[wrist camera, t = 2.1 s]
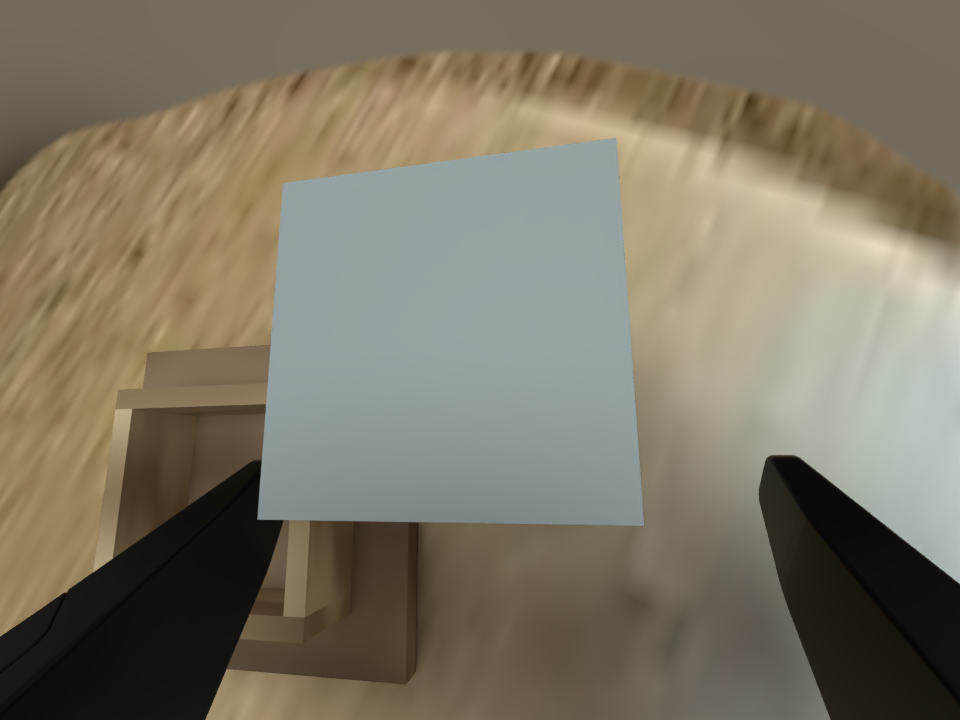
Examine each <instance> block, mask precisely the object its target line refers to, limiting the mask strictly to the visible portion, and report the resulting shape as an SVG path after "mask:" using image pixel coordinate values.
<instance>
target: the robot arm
mask: <svg viewBox="0 0 960 720" xmlns="http://www.w3.org/2000/svg"><path fill="white" fill-rule="evenodd" d="M261 466H262V459H256V460H253V461H251V462H250V463H248V464H247V465H245V466H244V467H243V468H241V469H240V470H238V471H237V472H235V473H234V474H233V475H231V476H230V477H228V478H227V479H225V480H224V481H223V482H221V483H220V484H218V485H217V486H215V487H214V488H213V489H211V490H210V491H208V492H207V493H205V494H204V495H203V496H201V497H200V498H198V499H197V500H196V501H194V502H193V503H191V504H190V505H188V506H187V507H186V508H184V509H183V510H181V511H180V512H178V513H177V514H176V515H174V516H173V517H171V518H170V519H168V520H167V521H166V522H164V523H163V524H161V525H160V526H158V527H157V528H156V529H154V530H153V531H151V532H150V533H148V534H147V535H146V536H144V537H143V538H141V539H140V540H139V541H137V542H136V543H134V544H133V545H131V546H130V547H129V548H127V549H126V550H124V551H123V552H121V553H120V554H119V555H117V556H116V557H114V558H113V559H111V560H110V561H109V562H107V563H106V564H104V565H103V566H101V567H100V568H99V569H97V570H96V571H94V572H93V573H91V574H90V575H89V576H87V577H86V578H84V579H83V580H82V581H80V582H79V583H77V584H76V585H74V586H73V587H72V588H70V589H69V590H68V592H67V593H63V594H61V595H60V596H59V597H57V598H56V599H54V600H53V601H52V602H50V603H49V604H47V605H46V606H44V607H43V608H42V609H40V610H39V611H37V612H36V613H34V614H33V615H31V616H30V617H28V618H27V619H26V620H24V621H23V622H21V623H20V624H18V625H17V626H15V627H14V628H12V629H11V630H9V631H8V632H7V633H5V634H4V635H2V636H0V720H205V719H206V717H207V714H208V712H209V710H210V707H211V705H212V703H213V700H214V698H215V695H216V693H217V691H218V688H219V686H220V684H221V681H222V679H223V676H224V674H225V672H226V669H227V667H228V665H229V662H230V660H231V657H232V655H233V653H234V650H235V648H236V646H237V643H238V641H239V638H240V636H241V634H242V631H243V629H244V627H245V624H246V622H247V619H248V617H249V615H250V612H251V610H252V608H253V605H254V603H255V600H256V598H257V596H258V593H259V591H260V589H261V586H262V584H263V581H264V579H265V576H266V574H267V571H268V569H269V566H270V563H271V560H272V557H273V554H274V550H275V547H276V544H277V541H278V538H279V534H280V531H281V528H282V525H283V522H284V520H257V518H258V505H259V492H260V479H261ZM759 501H760V506H761V510H762V514H763V518H764V522H765V526H766V529H767V533H768V537H769V541H770V545H771V549H772V553H773V557H774V561H775V565H776V569H777V573H778V577H779V581H780V584H781V588H782V591H783V594H784V597H785V600H786V603H787V606H788V609H789V611H790V614H791V617H792V619H793V622H794V625H795V627H796V630H797V632H798V635H799V638H800V640H801V643H802V646H803V648H804V651H805V653H806V656H807V659H808V661H809V664H810V667H811V669H812V672H813V674H814V677H815V680H816V682H817V685H818V688H819V690H820V693H821V696H822V698H823V701H824V703H825V706H826V709H827V711H828V714H829V717H830V719H831V720H960V584H959V583H958V582H957V581H955V580H954V579H953V578H952V577H950V576H949V575H948V574H946V573H945V572H944V571H943V570H941V569H940V568H939V567H938V566H936V565H935V564H934V563H932V562H931V561H930V560H929V559H927V558H926V557H925V556H924V555H922V554H921V553H920V552H919V551H917V550H916V549H915V548H913V547H912V546H911V545H910V544H908V543H907V542H906V541H905V540H903V539H902V538H901V537H900V536H898V535H897V534H896V533H894V532H893V531H892V530H891V529H889V528H888V527H887V526H886V525H884V524H883V523H882V522H881V521H879V520H878V519H877V518H875V517H874V516H873V515H872V514H870V513H869V512H868V511H867V510H865V509H864V508H863V507H861V506H860V505H859V504H858V503H856V502H855V501H854V500H853V499H851V498H850V497H849V496H848V495H846V494H845V493H844V492H842V491H841V490H840V489H839V488H837V487H836V486H835V485H834V484H832V483H831V482H830V481H829V480H827V479H826V478H825V477H823V476H822V475H821V474H820V473H818V472H817V471H816V470H815V469H813V468H812V467H811V466H810V465H808V464H807V463H806V462H804V461H803V460H802V459H801V458H799V457H797V456H794V455H771V456H769V457H767V459H766V461H765V465H764V469H763V474H762V478H761V482H760V487H759Z"/></svg>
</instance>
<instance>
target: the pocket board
mask: <svg viewBox="0 0 960 720" xmlns="http://www.w3.org/2000/svg"><path fill="white" fill-rule="evenodd" d="M270 348H271V345H262V346H247V347H231V348H215V349H199V350H183V351H168V352H152V353H148V354H147V362H146V370H145V377H144V385H143V389H124V390H118V395H117V403H116V410H115V417H114V425H113V432H112V439H111V446H110V454H109V461H108V468H107V476H106V483H105V490H104V497H103V505H102V512H101V519H100V527H99V534H98V541H97V548H96V556H95V563H94V570H93V572H94V571H96V570H97V569H99V568H100V567H101V566H103V565H104V564H106V563H107V562H109V561H110V560H111V559H113V558H114V557H116V556H117V555H119V554H120V553H121V552H123V551H124V550H126V549H127V548H129V547H130V546H131V545H133V544H134V543H136V542H137V541H139V540H140V539H141V538H143V537H144V536H146V535H147V534H148V533H150V532H151V531H153V530H154V529H156V528H157V527H158V526H160V525H161V524H163V523H164V522H166V521H167V520H168V519H170V518H171V517H173V516H174V515H176V514H177V513H178V512H180V511H181V510H183V509H184V508H186V507H187V506H188V505H190V504H191V503H193V502H194V501H196V500H197V499H198V498H200V497H201V496H203V495H204V494H205V493H207V492H208V491H210V490H211V489H213V488H214V487H215V486H217V485H218V484H220V483H221V482H223V481H224V480H225V479H227V478H228V477H230V476H231V475H233V474H234V473H235V472H237V471H238V470H240V469H241V468H243V467H244V466H245V465H247V464H248V463H250V462H251V461H253V460H256V459H262V453H263V440H264V426H265V413H266V400H267V387H268V374H269V361H270ZM417 538H418V522H377V521H316V520H284V522H283V525H282V528H281V531H280V534H279V538H278V541H277V544H276V547H275V550H274V554H273V557H272V560H271V563H270V566H269V569H268V571H267V574H266V576H265V579H264V581H263V584H262V586H261V589H260V591H259V593H258V596H257V598H256V600H255V603H254V605H253V608H252V610H251V612H250V615H249V617H248V619H247V622H246V624H245V627H244V629H243V631H242V634H241V636H240V638H239V641H238V643H237V646H236V648H235V650H234V653H233V655H232V657H231V660H230V662H229V665H228V667H227V669H234V670H245V671H257V672H269V673H280V674H292V675H304V676H315V677H327V678H338V679H350V680H362V681H373V682H385V683H396V684H406V683H407V682H408V681H409V679H410V678H411V677H412V676H413V674H414V673H415V672H416V605H417Z"/></svg>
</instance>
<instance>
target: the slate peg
mask: <svg viewBox="0 0 960 720" xmlns="http://www.w3.org/2000/svg"><path fill="white" fill-rule="evenodd" d="M257 520H316V521H377V522H439V523H500V524H562V525H623V526H644V516H643V502H642V488H641V474H640V460H639V446H638V433H637V419H636V405H635V391H634V377H633V363H632V349H631V336H630V322H629V308H628V294H627V280H626V266H625V253H624V239H623V225H622V211H621V197H620V183H619V169H618V156H617V142H616V138H613V139H605V140H598V141H591V142H583V143H576V144H568V145H561V146H554V147H546V148H539V149H531V150H524V151H517V152H509V153H502V154H495V155H487V156H480V157H472V158H465V159H458V160H450V161H443V162H435V163H428V164H421V165H413V166H406V167H399V168H391V169H384V170H376V171H369V172H362V173H354V174H347V175H339V176H332V177H325V178H317V179H310V180H302V181H295V182H288V183H283V192H282V205H281V218H280V231H279V244H278V257H277V270H276V283H275V296H274V309H273V322H272V335H271V348H270V361H269V374H268V387H267V400H266V413H265V426H264V440H263V453H262V466H261V479H260V492H259V505H258V518H257Z"/></svg>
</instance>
